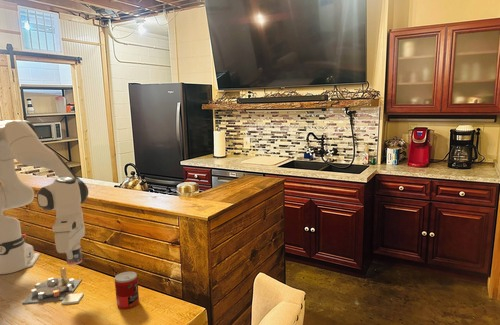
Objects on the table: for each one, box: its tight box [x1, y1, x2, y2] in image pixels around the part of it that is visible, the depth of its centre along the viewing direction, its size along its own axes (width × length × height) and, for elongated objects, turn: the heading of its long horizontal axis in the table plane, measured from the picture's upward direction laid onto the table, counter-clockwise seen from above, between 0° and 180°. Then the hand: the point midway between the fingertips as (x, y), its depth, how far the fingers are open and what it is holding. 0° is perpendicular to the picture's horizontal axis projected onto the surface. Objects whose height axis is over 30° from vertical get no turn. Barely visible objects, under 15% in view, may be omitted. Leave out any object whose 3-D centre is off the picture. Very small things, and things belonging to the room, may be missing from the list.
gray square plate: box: [22, 279, 82, 305], centre depth 141 cm, size 16×17×1 cm
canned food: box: [114, 271, 140, 310], centre depth 129 cm, size 8×8×11 cm
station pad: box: [60, 292, 84, 306], centre depth 134 cm, size 6×6×1 cm
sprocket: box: [31, 266, 75, 299], centre depth 140 cm, size 15×15×9 cm
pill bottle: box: [65, 240, 83, 266], centre depth 134 cm, size 5×5×9 cm
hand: (73, 255), depth 134 cm, fingers closed on pill bottle, 5 cm apart
